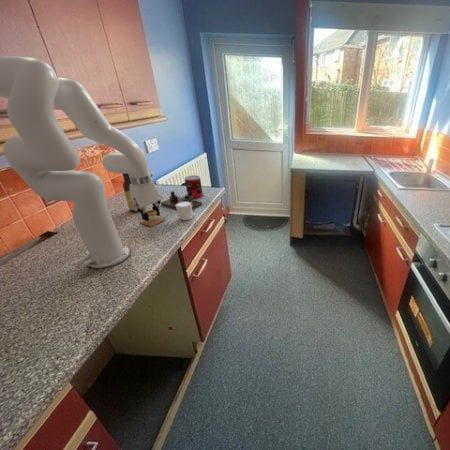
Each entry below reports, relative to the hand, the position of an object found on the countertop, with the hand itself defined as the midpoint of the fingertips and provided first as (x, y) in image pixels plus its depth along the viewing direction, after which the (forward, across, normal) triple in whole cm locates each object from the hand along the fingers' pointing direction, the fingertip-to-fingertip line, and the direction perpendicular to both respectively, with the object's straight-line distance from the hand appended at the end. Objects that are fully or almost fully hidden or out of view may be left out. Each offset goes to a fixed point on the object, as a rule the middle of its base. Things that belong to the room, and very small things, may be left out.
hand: (151, 217), depth 113 cm
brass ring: (-2, 0, 0) cm, 2 cm away
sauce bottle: (+3, -6, -18) cm, 19 cm away
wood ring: (-2, -20, +2) cm, 20 cm away
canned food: (+3, -33, -6) cm, 33 cm away
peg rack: (+2, -20, -3) cm, 20 cm away
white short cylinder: (+2, -10, +10) cm, 14 cm away
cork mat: (+2, 0, 0) cm, 2 cm away
